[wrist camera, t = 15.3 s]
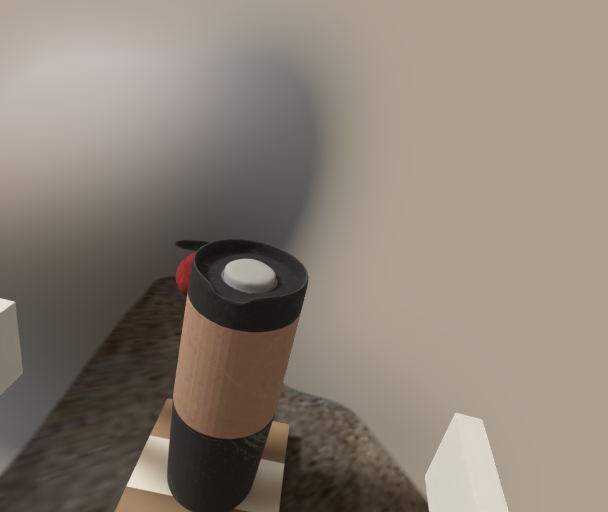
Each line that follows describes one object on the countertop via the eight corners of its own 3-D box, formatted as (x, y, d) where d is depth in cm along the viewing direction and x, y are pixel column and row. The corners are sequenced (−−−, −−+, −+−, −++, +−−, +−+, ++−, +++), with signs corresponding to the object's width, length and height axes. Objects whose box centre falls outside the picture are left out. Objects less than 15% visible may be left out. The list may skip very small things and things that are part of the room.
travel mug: (234, 426, 42) (276, 235, 34) (272, 497, 37) (333, 290, 28) (151, 452, 38) (174, 240, 29) (180, 535, 33) (218, 306, 24)
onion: (207, 316, 59) (216, 263, 55) (165, 304, 59) (171, 250, 56) (222, 295, 64) (231, 245, 61) (184, 284, 65) (190, 233, 61)
